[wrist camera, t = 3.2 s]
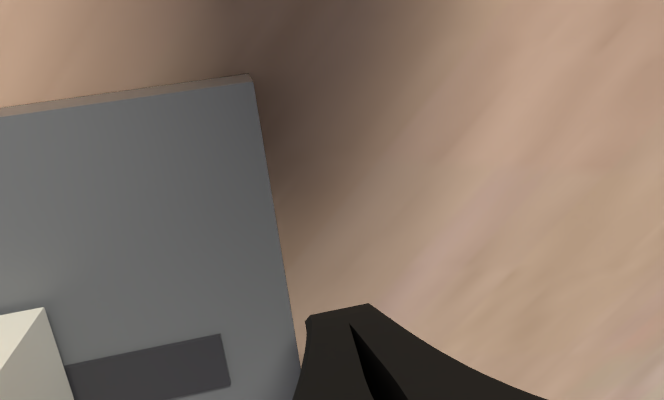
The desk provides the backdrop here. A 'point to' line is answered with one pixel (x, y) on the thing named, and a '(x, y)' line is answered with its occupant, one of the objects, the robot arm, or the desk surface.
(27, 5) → the desk surface
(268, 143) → the desk surface
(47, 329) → the fader cap
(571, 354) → the desk surface
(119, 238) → the console
